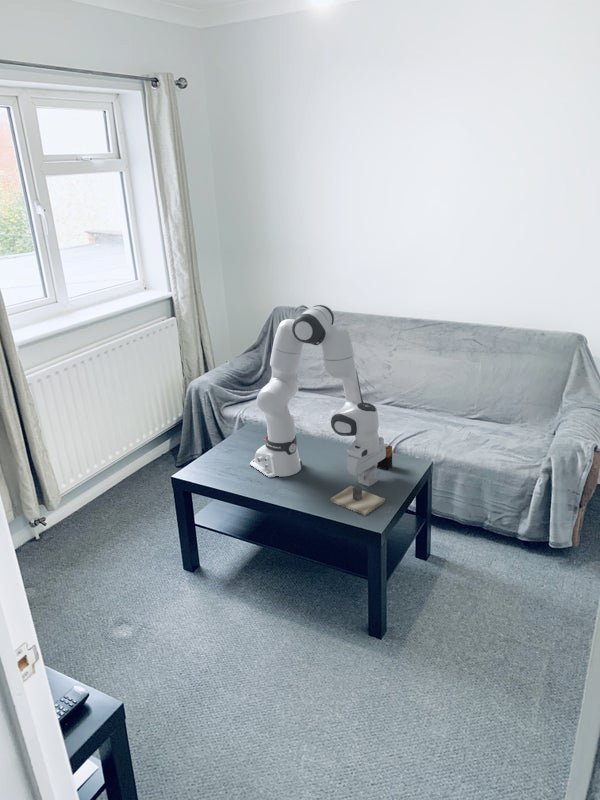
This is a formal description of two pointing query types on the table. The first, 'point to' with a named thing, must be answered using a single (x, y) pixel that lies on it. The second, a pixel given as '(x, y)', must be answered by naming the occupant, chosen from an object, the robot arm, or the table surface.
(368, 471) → the brushed metal cube
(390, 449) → the battery
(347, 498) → the holder
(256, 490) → the table surface
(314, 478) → the table surface
